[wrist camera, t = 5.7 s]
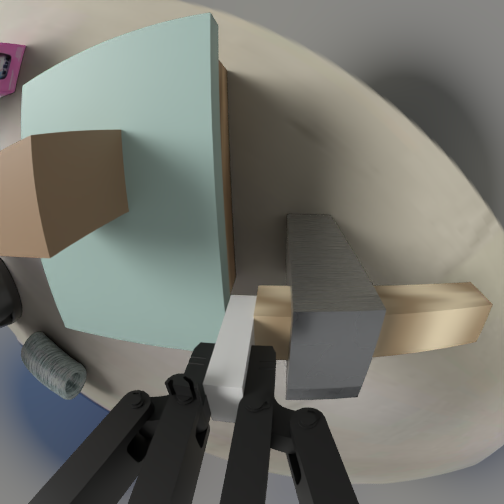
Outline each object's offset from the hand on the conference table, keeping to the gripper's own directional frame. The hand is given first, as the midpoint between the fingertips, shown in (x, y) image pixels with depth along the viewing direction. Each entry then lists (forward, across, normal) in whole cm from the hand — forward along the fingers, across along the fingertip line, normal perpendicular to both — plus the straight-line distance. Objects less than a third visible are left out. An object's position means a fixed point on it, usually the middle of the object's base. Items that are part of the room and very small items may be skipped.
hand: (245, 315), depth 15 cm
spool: (+12, -36, -22) cm, 44 cm away
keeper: (+11, +4, 0) cm, 12 cm away
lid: (+3, -10, +6) cm, 12 cm away
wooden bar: (+1, +8, 0) cm, 8 cm away
